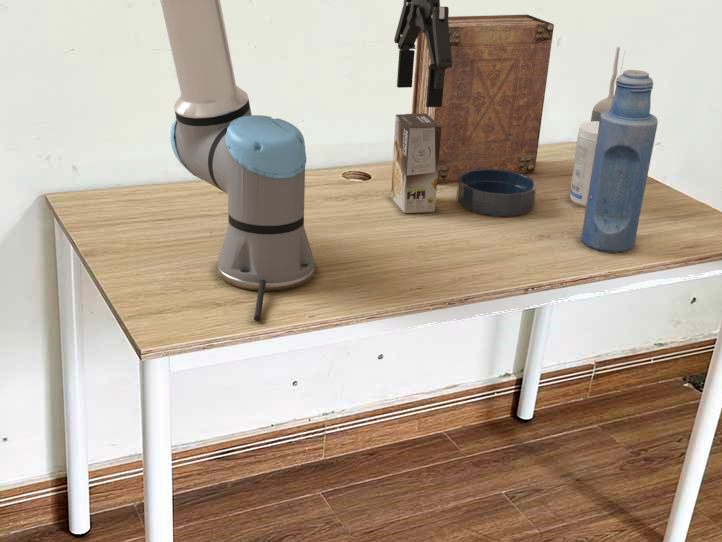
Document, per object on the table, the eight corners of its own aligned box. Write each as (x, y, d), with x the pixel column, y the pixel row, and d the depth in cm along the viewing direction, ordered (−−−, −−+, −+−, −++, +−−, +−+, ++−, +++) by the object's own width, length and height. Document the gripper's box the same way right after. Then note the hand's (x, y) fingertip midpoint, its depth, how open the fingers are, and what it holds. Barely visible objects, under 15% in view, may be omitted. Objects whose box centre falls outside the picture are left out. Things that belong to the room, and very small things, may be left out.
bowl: (547, 214, 199) (550, 191, 197) (476, 220, 194) (479, 197, 192) (511, 188, 211) (514, 166, 209) (444, 193, 206) (446, 171, 204)
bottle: (636, 238, 192) (668, 69, 177) (632, 257, 183) (664, 82, 168) (583, 230, 193) (610, 62, 178) (577, 248, 185) (604, 74, 170)
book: (428, 184, 210) (440, 27, 195) (407, 169, 217) (417, 17, 202) (535, 172, 221) (554, 23, 206) (511, 159, 228) (529, 13, 213)
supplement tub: (622, 199, 210) (635, 125, 202) (611, 213, 202) (624, 137, 195) (575, 190, 213) (586, 117, 205) (562, 204, 205) (573, 128, 198)
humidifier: (597, 159, 232) (616, 41, 219) (626, 169, 227) (647, 49, 214) (572, 165, 227) (590, 45, 215) (601, 175, 222) (621, 53, 209)
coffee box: (436, 212, 197) (443, 126, 189) (403, 214, 195) (409, 127, 187) (420, 195, 204) (426, 112, 196) (389, 197, 202) (394, 113, 194)
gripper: (480, -18, 170) (467, 114, 181) (420, -42, 190) (411, 79, 200) (437, -18, 167) (426, 116, 178) (381, -42, 187) (374, 79, 198)
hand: (418, 96), depth 189 cm, fingers open, 13 cm apart
